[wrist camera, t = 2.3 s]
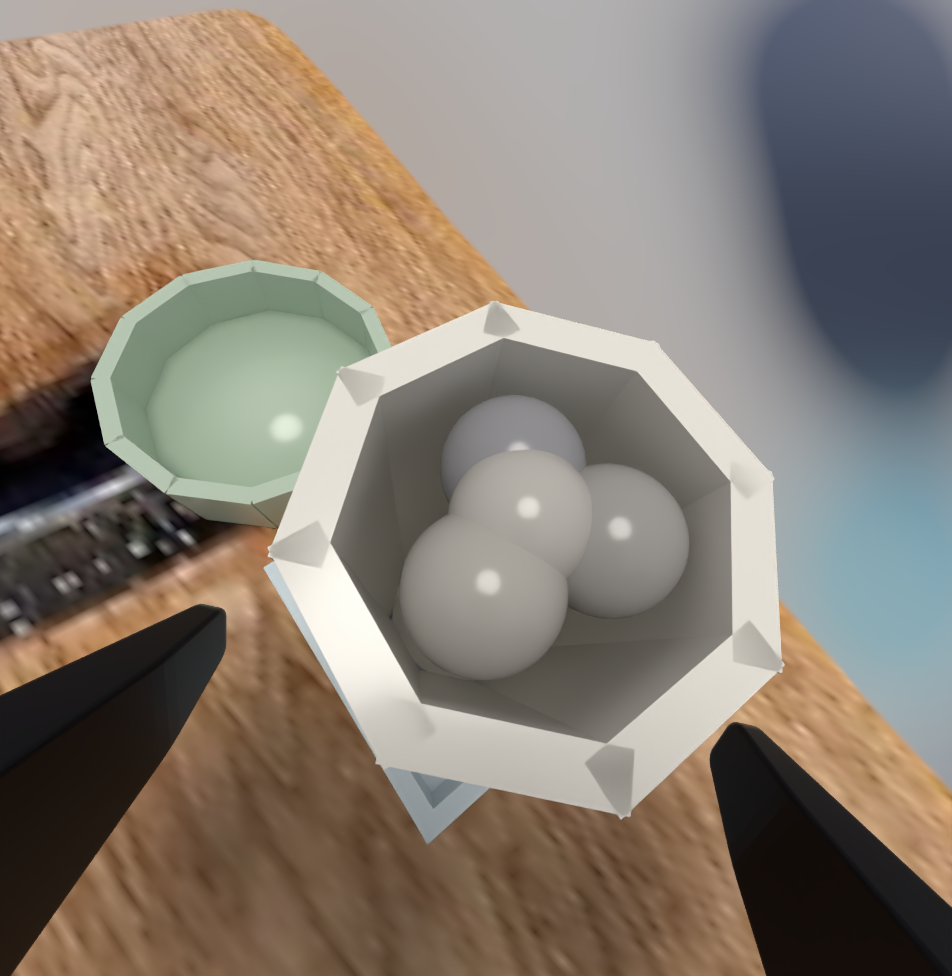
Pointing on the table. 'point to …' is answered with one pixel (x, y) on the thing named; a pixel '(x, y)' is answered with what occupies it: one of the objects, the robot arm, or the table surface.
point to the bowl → (230, 383)
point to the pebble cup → (534, 558)
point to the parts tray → (420, 793)
